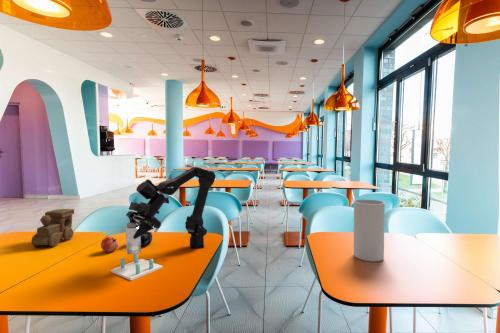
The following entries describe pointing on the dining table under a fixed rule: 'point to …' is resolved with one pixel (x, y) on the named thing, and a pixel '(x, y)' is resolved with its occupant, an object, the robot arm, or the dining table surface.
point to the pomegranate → (109, 244)
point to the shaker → (132, 243)
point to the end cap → (146, 239)
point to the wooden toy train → (54, 228)
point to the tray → (132, 269)
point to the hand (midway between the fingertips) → (130, 237)
